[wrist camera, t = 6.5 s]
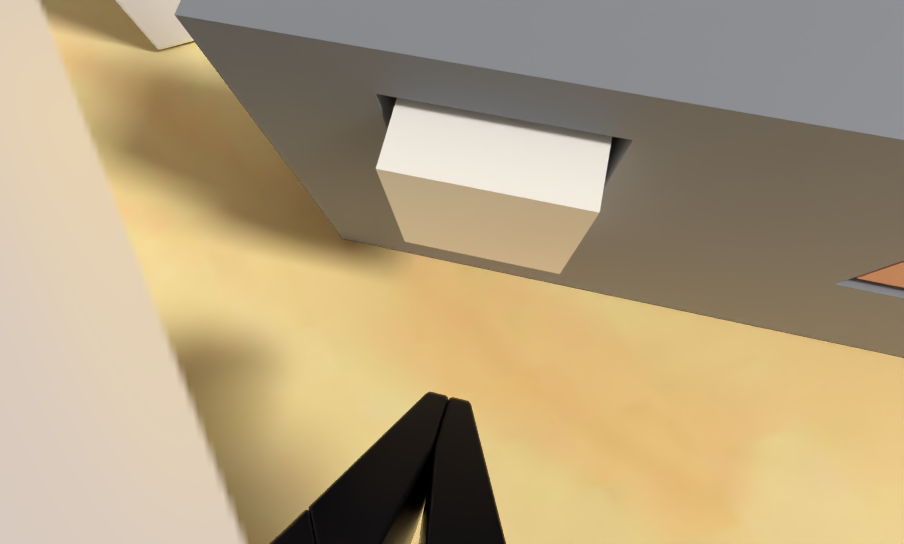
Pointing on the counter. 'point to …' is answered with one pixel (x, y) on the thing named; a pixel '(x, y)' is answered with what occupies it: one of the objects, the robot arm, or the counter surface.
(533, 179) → the cream button
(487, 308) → the counter surface
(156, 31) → the milk carton
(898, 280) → the terracotta button
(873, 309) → the console
